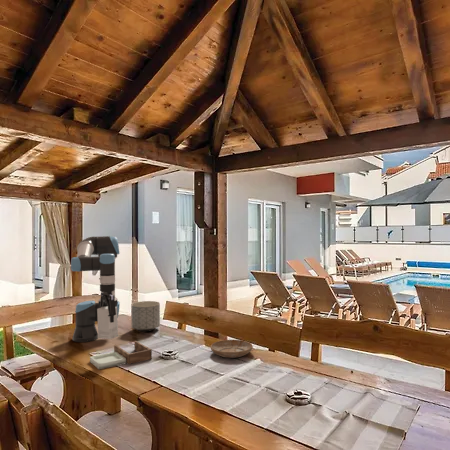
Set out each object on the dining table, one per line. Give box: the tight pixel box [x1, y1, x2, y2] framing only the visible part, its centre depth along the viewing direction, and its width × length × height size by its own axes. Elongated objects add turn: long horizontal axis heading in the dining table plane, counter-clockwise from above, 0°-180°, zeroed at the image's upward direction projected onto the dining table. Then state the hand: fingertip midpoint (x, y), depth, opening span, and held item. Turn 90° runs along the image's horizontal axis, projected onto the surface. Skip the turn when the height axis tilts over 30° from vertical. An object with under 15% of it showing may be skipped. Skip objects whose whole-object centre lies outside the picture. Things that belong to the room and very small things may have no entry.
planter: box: [130, 300, 161, 333], centre depth 260 cm, size 19×19×18 cm
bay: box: [113, 340, 153, 365], centre depth 207 cm, size 20×13×5 cm, turn 37°
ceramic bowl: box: [210, 339, 253, 359], centre depth 210 cm, size 23×24×5 cm
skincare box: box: [97, 306, 119, 340], centre depth 197 cm, size 8×7×16 cm
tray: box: [89, 351, 127, 370], centre depth 197 cm, size 14×14×3 cm
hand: (107, 326), depth 197 cm, fingers closed on skincare box, 10 cm apart
